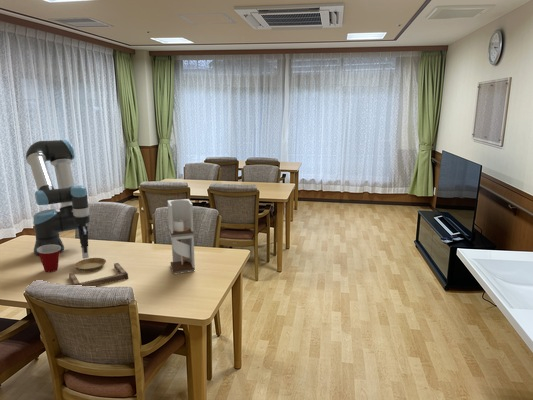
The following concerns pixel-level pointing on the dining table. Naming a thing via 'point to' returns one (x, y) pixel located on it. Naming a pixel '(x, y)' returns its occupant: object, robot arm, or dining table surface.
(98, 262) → the plant saucer
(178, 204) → the display case
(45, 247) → the plastic cup
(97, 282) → the bay
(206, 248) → the dining table surface
